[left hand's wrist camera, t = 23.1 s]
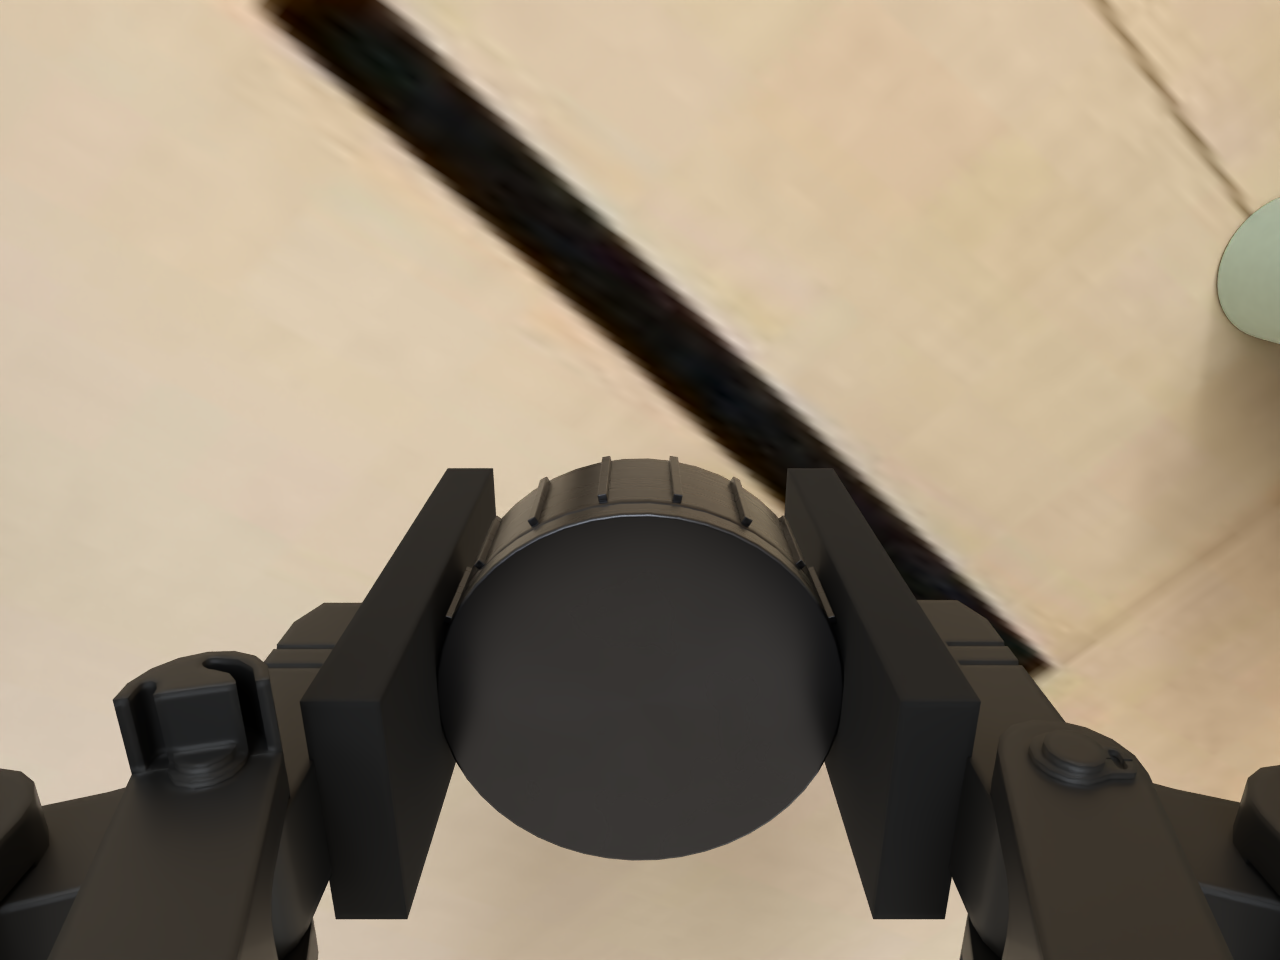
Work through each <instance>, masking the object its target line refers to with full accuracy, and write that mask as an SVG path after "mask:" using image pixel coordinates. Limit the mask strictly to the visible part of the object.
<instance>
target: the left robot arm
mask: <svg viewBox="0 0 1280 960" xmlns="http://www.w3.org/2000/svg"><path fill="white" fill-rule="evenodd" d="M495 517H496V508H495V493H494V477H493V468H448V469H447V470H446V472H445V474H444V475H443V477H442V478H441V480H440V481H439V483H438V485H437V486H436V488H435V489H434V491H433V492H432V494H431V496H430V497H429V499H428V500H427V502H426V503H425V505H424V507H423V508H422V510H421V511H420V513H419V514H418V516H417V518H416V519H415V521H414V522H413V524H412V525H411V527H410V529H409V530H408V532H407V533H406V535H405V536H404V538H403V540H402V541H401V543H400V544H399V546H398V547H397V549H396V551H395V552H394V554H393V555H392V557H391V558H390V560H389V562H388V563H387V565H386V566H385V568H384V569H383V571H382V573H381V574H380V576H379V577H378V579H377V580H376V582H375V584H374V585H373V587H372V588H371V590H370V591H369V593H368V595H367V596H366V598H365V599H364V601H363V602H362V603H323V604H321V605H320V606H318V607H317V608H315V609H314V610H312V611H311V612H309V613H308V614H306V615H304V616H303V617H301V618H300V619H298V620H297V621H295V622H294V623H293V624H292V626H291V627H290V628H289V630H288V631H287V632H286V634H285V635H284V636H283V637H282V639H281V640H280V641H279V643H278V644H277V649H273V651H272V652H271V653H270V655H269V656H268V657H267V659H266V660H265V661H264V662H263V661H261V660H260V659H259V658H258V657H256V656H254V655H250V654H245V653H241V652H236V651H222V652H205V653H201V654H196V655H191V656H186V657H182V658H178V659H175V660H173V661H170V662H167V663H165V664H162V665H160V666H157V667H155V668H152V669H150V670H148V671H147V672H145V673H144V674H142V675H140V676H139V677H137V678H135V679H134V680H132V681H131V682H129V683H127V685H126V686H125V687H124V688H123V689H122V690H121V691H120V692H119V693H118V695H117V696H116V697H115V698H114V699H113V703H114V707H115V711H116V715H117V719H118V722H119V726H120V730H121V734H122V738H123V742H124V746H125V750H126V753H127V757H128V761H129V765H130V769H131V773H132V775H131V778H130V780H129V782H128V784H127V786H126V787H125V788H122V789H118V790H114V791H111V792H107V793H102V794H97V795H93V796H88V797H83V798H78V799H73V800H69V801H64V802H59V803H54V804H49V805H45V806H41V803H40V800H39V797H38V794H37V790H36V787H35V784H34V782H33V781H32V780H31V779H30V778H28V777H27V776H26V775H25V774H23V773H22V772H20V771H14V770H7V769H0V960H318V946H317V939H316V932H315V927H314V921H313V916H314V913H315V911H316V909H317V907H318V904H319V902H320V900H321V897H322V895H323V893H324V890H325V888H326V886H327V884H328V881H330V887H331V893H332V899H333V905H334V911H335V917H336V919H408V915H409V912H410V909H411V906H412V902H413V899H414V896H415V893H416V889H417V886H418V883H419V880H420V876H421V873H422V870H423V867H424V864H425V860H426V857H427V854H428V851H429V847H430V844H431V841H432V838H433V834H434V831H435V828H436V825H437V821H438V818H439V815H440V812H441V808H442V805H443V802H444V799H445V796H446V792H447V789H448V786H449V783H450V779H451V776H452V773H453V770H454V766H455V763H456V761H455V759H454V757H453V755H452V753H451V750H450V748H449V746H448V744H447V742H446V739H445V736H444V733H443V729H442V726H441V721H440V712H439V702H438V692H437V678H436V669H437V664H438V658H439V653H440V648H441V645H442V642H443V639H444V636H445V633H446V630H447V628H448V625H449V624H446V623H444V618H445V615H446V613H447V611H448V609H449V606H450V604H451V602H452V599H453V597H454V595H455V592H456V590H457V588H458V586H459V583H460V581H461V579H462V576H463V574H464V572H465V569H466V567H470V568H472V567H473V565H474V563H475V560H476V558H477V556H478V554H479V552H480V550H481V547H482V545H483V542H484V540H485V538H486V535H487V533H488V530H489V528H490V526H491V523H492V521H493V519H494V518H495ZM784 517H785V518H786V519H787V520H788V522H789V525H790V527H791V530H792V532H793V534H794V537H795V539H796V542H797V544H798V547H799V549H800V551H801V553H802V555H803V558H804V560H805V563H806V565H807V567H808V568H810V567H814V568H815V571H816V573H817V575H818V578H819V580H820V582H821V585H822V587H823V589H824V592H825V594H826V596H827V599H828V601H829V603H830V605H831V608H832V610H833V612H834V615H835V617H836V621H837V623H834V624H831V625H832V628H833V630H834V632H835V635H836V637H837V640H838V644H839V648H840V652H841V656H842V660H843V669H844V687H843V698H842V708H841V717H840V723H839V728H838V732H837V734H836V737H835V739H834V742H833V744H832V747H831V750H830V752H829V754H828V756H827V757H826V759H825V761H824V762H825V765H826V768H827V771H828V774H829V778H830V781H831V784H832V787H833V791H834V794H835V797H836V800H837V804H838V807H839V810H840V813H841V817H842V820H843V823H844V826H845V829H846V833H847V836H848V839H849V842H850V846H851V849H852V852H853V855H854V859H855V862H856V865H857V868H858V872H859V875H860V878H861V881H862V885H863V888H864V891H865V894H866V897H867V901H868V904H869V907H870V910H871V914H872V917H873V919H945V914H946V908H947V902H948V896H949V890H950V884H951V879H952V878H953V880H954V883H955V885H956V887H957V890H958V892H959V894H960V896H961V899H962V901H963V903H964V905H965V908H966V910H967V912H968V916H967V921H966V927H965V932H964V938H963V944H962V949H961V955H960V960H1280V765H1277V766H1270V767H1263V768H1260V769H1259V770H1257V771H1256V772H1255V773H1254V774H1252V775H1251V776H1250V777H1249V778H1248V780H1247V783H1246V786H1245V789H1244V793H1243V796H1242V799H1241V802H1240V803H1239V802H1235V801H1230V800H1225V799H1220V798H1215V797H1211V796H1206V795H1201V794H1196V793H1191V792H1186V791H1182V790H1177V789H1173V788H1169V787H1165V786H1161V785H1158V784H1154V783H1152V780H1151V778H1150V776H1149V774H1148V772H1147V771H1146V770H1145V768H1144V767H1143V766H1142V764H1141V763H1140V762H1139V760H1138V759H1137V758H1136V757H1135V755H1133V754H1132V753H1131V752H1129V751H1128V750H1126V749H1125V748H1124V747H1122V746H1121V745H1120V744H1118V743H1117V742H1115V741H1114V740H1113V739H1111V738H1108V737H1106V736H1104V735H1102V734H1099V733H1097V732H1095V731H1093V730H1090V729H1088V728H1086V727H1082V726H1078V725H1074V724H1070V723H1066V722H1065V721H1064V720H1063V718H1062V717H1061V716H1060V714H1059V713H1058V712H1057V710H1056V709H1055V708H1054V707H1053V705H1052V704H1051V703H1050V701H1049V700H1048V699H1047V697H1046V696H1045V695H1044V693H1043V692H1042V691H1041V690H1040V688H1039V687H1038V686H1037V684H1036V683H1035V682H1034V680H1033V679H1032V678H1031V676H1030V675H1029V674H1028V672H1027V671H1026V670H1025V669H1024V667H1023V666H1022V665H1019V664H1018V659H1017V658H1016V657H1015V655H1014V654H1013V653H1012V652H1011V650H1010V649H1009V648H1008V646H1004V641H1003V640H1002V638H1001V637H1000V636H999V635H998V633H997V632H996V631H995V629H994V628H993V627H992V625H991V624H990V623H989V621H988V620H987V619H985V618H984V617H982V616H981V615H979V614H978V613H976V612H975V611H973V610H971V609H970V608H968V607H967V606H965V605H964V604H962V603H961V602H959V601H957V600H916V598H915V597H914V595H913V594H912V592H911V591H910V589H909V587H908V586H907V584H906V583H905V581H904V580H903V578H902V576H901V575H900V573H899V572H898V570H897V569H896V567H895V565H894V564H893V562H892V561H891V559H890V558H889V556H888V554H887V553H886V551H885V550H884V548H883V547H882V545H881V543H880V542H879V540H878V539H877V537H876V536H875V534H874V532H873V531H872V529H871V528H870V526H869V525H868V523H867V521H866V520H865V518H864V517H863V515H862V514H861V512H860V510H859V509H858V507H857V506H856V504H855V503H854V501H853V499H852V498H851V496H850V495H849V493H848V492H847V490H846V488H845V487H844V485H843V484H842V482H841V481H840V479H839V477H838V476H837V474H836V473H835V471H834V470H833V468H788V470H787V486H786V501H785V516H784Z"/></svg>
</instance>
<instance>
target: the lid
mask: <svg viewBox="0 0 1280 960" xmlns="http://www.w3.org/2000/svg"><path fill="white" fill-rule="evenodd" d="M444 623H446V624H449V625H448V628H447V630H446V633H445V636H444V639H443V642H442V645H441V648H440V653H439V658H438V664H437V669H436V678H437V692H438V702H439V712H440V721H441V726H442V729H443V733H444V736H445V739H446V742H447V744H448V746H449V748H450V750H451V753H452V755H453V757H454V759H455V761H456V762H457V764H458V766H459V767H460V769H461V770H462V772H463V774H464V775H465V777H466V778H467V780H468V781H469V782H470V783H471V784H472V785H473V787H474V788H475V789H476V790H477V791H478V793H479V794H480V795H481V796H482V797H483V798H484V799H485V800H486V801H487V802H488V803H489V804H490V805H492V806H493V807H494V808H495V809H496V810H497V811H498V812H499V813H501V814H502V815H503V816H505V817H506V818H508V819H509V820H510V821H512V822H513V823H514V824H516V825H517V826H519V827H521V828H523V829H524V830H526V831H528V832H530V833H531V834H533V835H535V836H537V837H539V838H541V839H543V840H546V841H548V842H551V843H553V844H555V845H558V846H560V847H563V848H566V849H570V850H573V851H576V852H580V853H583V854H588V855H593V856H598V857H604V858H611V859H622V860H660V859H668V858H677V857H683V856H687V855H692V854H696V853H701V852H705V851H708V850H711V849H714V848H717V847H720V846H723V845H726V844H728V843H730V842H733V841H735V840H737V839H739V838H741V837H743V836H745V835H748V834H750V833H751V832H753V831H755V830H756V829H758V828H759V827H761V826H763V825H764V824H766V823H768V822H769V821H771V820H772V819H773V818H774V817H776V816H777V815H778V814H779V813H781V812H782V811H783V810H785V809H786V808H787V807H788V806H789V805H790V804H791V803H792V802H793V801H794V800H795V799H796V798H797V797H798V796H799V795H800V794H801V793H802V792H803V791H804V790H805V789H806V787H807V786H808V785H809V784H810V782H811V781H812V780H813V778H814V777H815V776H816V774H817V773H818V772H819V770H820V768H821V766H822V765H823V763H824V761H825V759H826V757H827V756H828V754H829V752H830V750H831V747H832V744H833V742H834V739H835V737H836V734H837V732H838V728H839V723H840V717H841V708H842V698H843V687H844V669H843V660H842V656H841V652H840V648H839V644H838V640H837V637H836V635H835V632H834V630H833V628H832V625H831V624H834V623H837V621H836V617H835V615H834V612H833V610H832V608H831V605H830V603H829V601H828V599H827V596H826V594H825V592H824V589H823V587H822V585H821V582H820V580H819V578H818V575H817V573H816V571H815V568H814V567H810V568H808V567H807V565H806V563H805V560H804V558H803V555H802V553H801V551H800V549H799V547H798V544H797V542H796V539H795V537H794V534H793V532H792V530H791V527H790V525H789V522H788V520H787V519H786V518H785V517H784V516H782V517H780V518H778V517H777V516H776V515H775V514H774V513H773V512H772V511H771V510H770V509H769V508H768V507H767V506H766V505H765V504H763V503H762V502H761V501H760V500H759V499H758V498H756V497H755V496H754V495H752V494H751V493H749V492H748V491H746V490H745V489H744V488H742V485H741V482H740V480H739V479H737V478H735V477H733V478H732V479H731V481H730V480H728V479H726V478H724V477H722V476H720V475H718V474H715V473H712V472H710V471H707V470H704V469H701V468H699V467H696V466H692V465H687V464H683V463H679V462H678V457H673V456H670V458H669V461H666V460H657V459H621V460H614V461H611V457H610V456H607V457H602V462H601V463H597V464H593V465H589V466H586V467H582V468H578V469H575V470H573V471H570V472H568V473H566V474H563V475H561V476H559V477H556V478H554V479H552V480H550V481H549V479H548V478H547V477H545V478H543V479H541V480H540V483H539V486H538V488H537V489H535V490H533V491H532V492H531V493H529V494H528V495H527V496H526V497H524V498H523V499H522V500H520V501H519V502H518V503H517V504H515V505H514V506H513V507H512V508H511V509H510V510H509V512H508V513H507V514H506V515H505V516H504V517H503V518H502V519H501V518H500V517H498V516H496V517H495V518H494V519H493V521H492V523H491V526H490V528H489V530H488V533H487V535H486V538H485V540H484V542H483V545H482V547H481V550H480V552H479V554H478V556H477V558H476V560H475V563H474V565H473V567H472V568H470V567H466V569H465V572H464V574H463V576H462V579H461V581H460V583H459V586H458V588H457V590H456V592H455V595H454V597H453V599H452V602H451V604H450V606H449V609H448V611H447V613H446V615H445V618H444Z"/></svg>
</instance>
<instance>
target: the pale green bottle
mask: <svg viewBox="0 0 1280 960" xmlns="http://www.w3.org/2000/svg"><path fill="white" fill-rule="evenodd" d="M1217 288H1218V296H1219V300H1220V304H1221V306H1222V309H1223V311H1224V313H1225V314H1226V316H1227V317H1228V319H1229V320H1230V321H1231V322H1232V323H1233V325H1234V326H1236V327H1237V328H1238V329H1239V330H1241V331H1243V332H1244V333H1246V334H1248V335H1251V336H1253V337H1256V338H1260V339H1263V340H1267V341H1270V342H1274V343H1278V344H1280V197H1279V198H1277V199H1275V200H1272V201H1271V202H1269V203H1267V204H1266V205H1264V206H1262V207H1261V208H1260V209H1258V210H1257V211H1256V212H1254V213H1253V214H1252V215H1251V216H1250V217H1249V218H1248V219H1247V220H1246V221H1245V222H1244V223H1243V224H1242V225H1241V226H1240V227H1239V229H1238V230H1237V231H1236V233H1235V234H1234V236H1233V237H1232V238H1231V240H1230V242H1229V244H1228V246H1227V247H1226V250H1225V252H1224V254H1223V257H1222V260H1221V263H1220V266H1219V272H1218V282H1217Z"/></svg>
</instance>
